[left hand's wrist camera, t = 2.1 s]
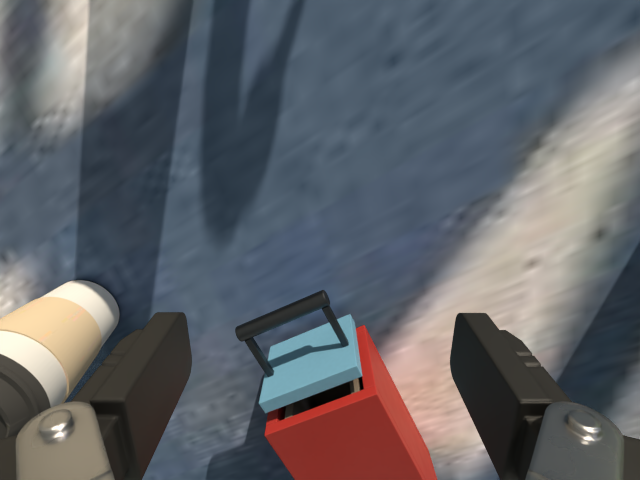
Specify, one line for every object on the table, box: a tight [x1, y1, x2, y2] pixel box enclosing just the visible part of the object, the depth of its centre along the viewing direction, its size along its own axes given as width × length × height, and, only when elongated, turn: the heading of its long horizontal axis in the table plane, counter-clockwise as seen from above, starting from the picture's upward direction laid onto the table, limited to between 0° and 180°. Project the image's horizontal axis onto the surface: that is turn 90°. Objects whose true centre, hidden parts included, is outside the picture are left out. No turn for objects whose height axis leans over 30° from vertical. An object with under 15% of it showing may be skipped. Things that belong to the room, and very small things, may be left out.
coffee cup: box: [0, 280, 119, 439], centre depth 33 cm, size 9×9×15 cm
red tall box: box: [265, 325, 437, 480], centre depth 39 cm, size 19×10×10 cm, turn 26°
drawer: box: [235, 290, 364, 419], centre depth 37 cm, size 24×9×8 cm, turn 26°
